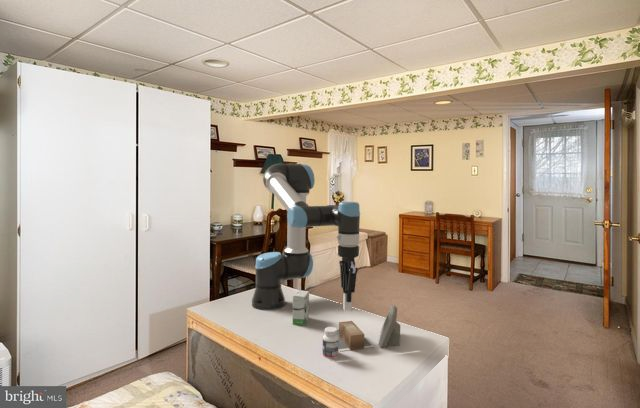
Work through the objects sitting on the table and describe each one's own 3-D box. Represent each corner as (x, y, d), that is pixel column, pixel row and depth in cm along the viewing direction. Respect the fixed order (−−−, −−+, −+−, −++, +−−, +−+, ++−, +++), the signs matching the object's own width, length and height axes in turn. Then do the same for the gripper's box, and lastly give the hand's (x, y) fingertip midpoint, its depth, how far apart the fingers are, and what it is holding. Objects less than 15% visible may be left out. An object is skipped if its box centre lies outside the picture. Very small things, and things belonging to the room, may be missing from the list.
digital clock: (383, 330, 138) (383, 302, 138) (406, 334, 134) (407, 306, 134) (370, 347, 124) (370, 317, 123) (396, 352, 120) (396, 321, 119)
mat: (325, 332, 136) (325, 330, 136) (355, 328, 139) (355, 327, 139) (340, 352, 119) (340, 351, 119) (373, 348, 123) (373, 347, 123)
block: (339, 322, 132) (350, 335, 120) (351, 320, 133) (364, 333, 121) (338, 335, 132) (350, 350, 120) (351, 334, 133) (364, 348, 122)
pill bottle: (323, 351, 120) (323, 325, 120) (338, 352, 120) (339, 326, 119) (321, 359, 115) (322, 332, 115) (338, 360, 115) (338, 332, 114)
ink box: (304, 326, 141) (304, 296, 140) (292, 325, 142) (292, 295, 141) (309, 318, 149) (309, 290, 149) (297, 317, 150) (297, 289, 150)
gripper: (333, 242, 134) (332, 304, 135) (344, 248, 121) (343, 317, 123) (352, 241, 136) (350, 302, 137) (365, 247, 123) (363, 315, 125)
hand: (347, 309), depth 130 cm, fingers closed
